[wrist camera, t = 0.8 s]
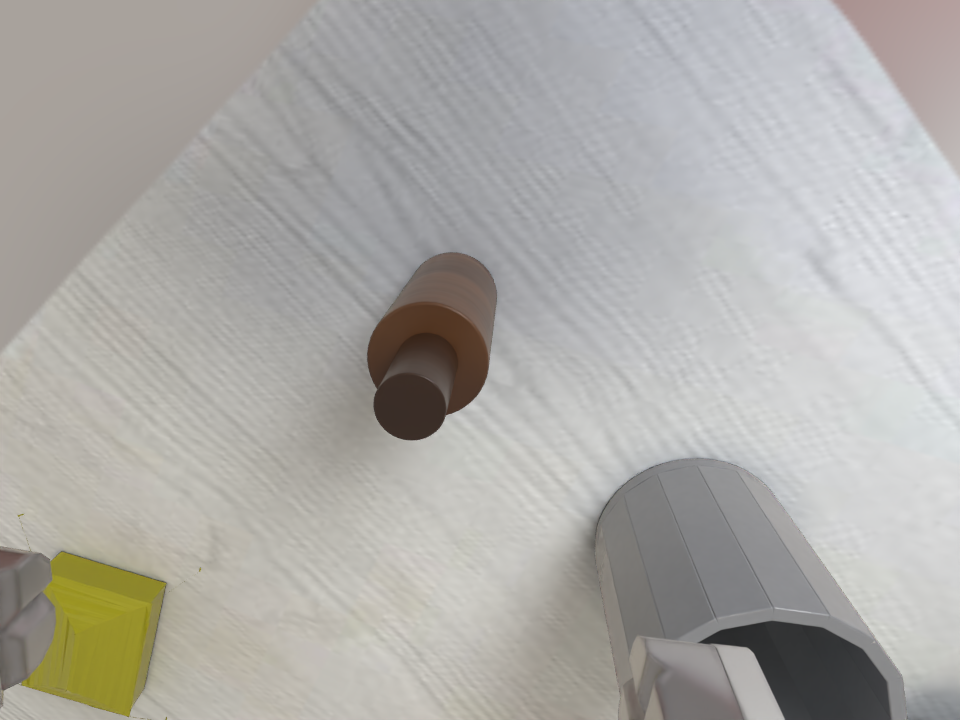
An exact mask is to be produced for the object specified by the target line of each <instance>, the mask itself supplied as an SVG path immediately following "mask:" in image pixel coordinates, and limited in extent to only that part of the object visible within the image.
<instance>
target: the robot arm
mask: <svg viewBox="0 0 960 720" xmlns="http://www.w3.org/2000/svg"><path fill="white" fill-rule="evenodd" d="M52 580H53V579H52V572H51V564H50V559H49V558H47V557H46V556H44V555H43V554H41V553H38V552H32V551H25V550H19V549H13V548H7V547H1V546H0V708H1V707H2V706H3V691H4V690H6V689H8V688H10V687H12V686H14V685H16V684H18V683H20V682H22V681H24V680H26V679H28V677H29V676H30V675H31V674H32V673H33V672H34V671H35V669H36V668H37V667H38V666H39V665H40V664H41V662H42V661H43V659H44V657H45V655H46V653H47V651H48V649H49V647H50V645H51V643H52V641H53V636H54V631H55V625H56V614H55V606H54V605H53V604H52V603H51V601H50V600H49V599H48V598H47V596H46V595H45V594H44V593H43V591H44V590H45V588H46V587H47V586H48V585H49V583H50V582H51V581H52ZM629 661H630V665H631V670H632V675H633V677H632V678H631V679H630V680H629V681H627V682H626V683H625V684H624V685H623V687H622V692H621V697H620V702H619V709H618V720H785V718H784V716H783V714H782V712H781V710H780V708H779V706H778V703H777V701H776V699H775V697H774V695H773V693H772V691H771V689H770V687H769V684H768V682H767V680H766V678H765V676H764V674H763V672H762V670H761V668H760V666H759V663H758V661H757V659H756V657H755V655H754V653H753V652H752V651H751V650H750V649H748V648H747V647H738V646H729V645H720V644H710V645H708V644H702V643H694V642H687V641H679V640H672V639H664V638H656V637H649V636H641V635H637V637H636V638H635V640H634V642H633V645H632V649H631V653H630V657H629Z"/></svg>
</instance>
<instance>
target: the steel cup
mask: <svg viewBox="0 0 960 720" xmlns="http://www.w3.org/2000/svg"><path fill="white" fill-rule="evenodd" d="M595 561H596V567H597V572H598V578H599V583H600V589H601V594H602V599H603V605H604V610H605V616H606V621H607V627H608V632H609V638H610V643H611V649H612V654H613V660H614V665H615V671H616V676H617V682H618V687H619V692H620V697H621V692H622V687H623V685H624V684H625V683H626V682H627V681H629V680H630V679H631V678H632V677H633V675H632V670H631V665H630V661H629V657H630V653H631V649H632V645H633V642H634V640H635V638H636V637H637V635H641V636H649V637H656V638H664V639H672V640H679V641H687V642H694V643H702V644H708V645H710V644H720V645H729V646H738V647H747V648H748V649H750V650H751V651H752V652H753V653H754V655H755V657H756V659H757V661H758V663H759V666H760V668H761V670H762V672H763V674H764V676H765V678H766V680H767V682H768V684H769V687H770V689H771V691H772V693H773V695H774V697H775V699H776V701H777V703H778V706H779V708H780V710H781V712H782V714H783V716H784V718H785V720H907V711H906V702H905V692H904V683H903V677H902V674H901V673H900V671H899V670H898V669H897V667H896V666H895V664H894V663H893V662H892V660H891V659H890V657H889V656H888V655H887V653H886V652H885V650H884V649H883V648H882V646H881V645H880V643H879V642H878V640H877V639H876V638H875V636H874V635H873V633H872V632H871V631H870V629H869V628H868V626H867V625H866V624H865V622H864V621H863V619H862V618H861V616H860V615H859V614H858V612H857V611H856V609H855V608H854V607H853V605H852V604H851V602H850V601H849V600H848V598H847V597H846V595H845V594H844V592H843V591H842V590H841V588H840V587H839V585H838V584H837V583H836V581H835V580H834V578H833V577H832V576H831V574H830V573H829V571H828V570H827V568H826V567H825V566H824V564H823V563H822V561H821V560H820V559H819V557H818V556H817V554H816V553H815V552H814V550H813V549H812V547H811V546H810V544H809V543H808V542H807V540H806V539H805V537H804V536H803V535H802V533H801V532H800V530H799V529H798V528H797V526H796V525H795V523H794V522H793V520H792V519H791V518H790V516H789V515H788V513H787V512H786V511H785V509H784V508H783V507H782V505H781V504H780V502H779V501H778V500H777V498H776V497H775V495H774V494H773V493H772V491H771V490H770V489H769V488H768V487H767V486H766V485H765V484H764V483H763V482H762V481H761V480H759V479H758V478H757V477H755V476H754V475H752V474H751V473H749V472H748V471H746V470H744V469H742V468H740V467H738V466H735V465H732V464H729V463H726V462H722V461H717V460H712V459H699V458H697V459H682V460H676V461H671V462H667V463H664V464H660V465H657V466H655V467H653V468H650V469H648V470H646V471H644V472H642V473H640V474H639V475H637V476H635V477H634V478H633V479H631V480H630V481H628V482H627V483H626V484H625V485H624V486H623V487H622V488H620V489H619V490H618V491H617V492H616V494H615V495H614V496H613V497H612V498H611V500H610V501H609V503H608V504H607V506H606V507H605V509H604V511H603V513H602V515H601V517H600V520H599V523H598V526H597V530H596V536H595Z"/></svg>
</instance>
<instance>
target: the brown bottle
mask: <svg viewBox="0 0 960 720" xmlns="http://www.w3.org/2000/svg"><path fill="white" fill-rule="evenodd" d="M496 302H497V291H496V286H495V283H494V280H493V278H492V276H491V274H490V273H489V271H488V270H487V269H486V267H485V266H484V265H483V264H481V263H480V262H479V261H478V260H476V259H475V258H473V257H471V256H468V255H465V254H461V253H453V252H451V253H443V254H439V255H436V256H434V257H432V258H430V259H428V260H427V261H425V262H424V263H423V264H422V265H421V266H420V267H419V268H418V269H417V271H416V272H415V274H414V275H413V276H412V278H411V279H410V281H409V282H408V283H407V285H406V286H405V287H404V289H403V290H402V292H401V293H400V294H399V296H398V297H397V299H396V300H395V301H394V303H393V304H392V306H391V307H390V308H389V310H388V311H387V312H386V314H385V315H384V317H383V318H382V319H381V321H380V322H379V324H378V325H377V327H376V328H375V330H374V331H373V334H372V336H371V338H370V342H369V345H368V352H367V361H368V368H369V372H370V376H371V378H372V380H373V383H374V384H375V386H376V388H377V391H376V394H375V397H374V412H375V415H376V418H377V420H378V422H379V423H380V425H381V426H382V427H383V428H384V429H385V430H386V431H387V432H388V433H390V434H391V435H393V436H395V437H397V438H400V439H404V440H420V439H423V438H426V437H428V436H430V435H432V434H433V433H435V432H436V431H437V430H438V429H439V428H440V426H441V425H442V423H443V421H444V419H445V416H446V415H448V414H452V413H454V412H456V411H459V410H460V409H462V408H464V407H465V406H467V405H468V404H469V403H470V402H472V400H473V399H474V398H475V397H476V396H477V395H478V393H479V392H480V391H481V389H482V387H483V385H484V383H485V380H486V378H487V374H488V369H489V360H490V352H491V344H492V335H493V327H494V319H495V310H496Z"/></svg>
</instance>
